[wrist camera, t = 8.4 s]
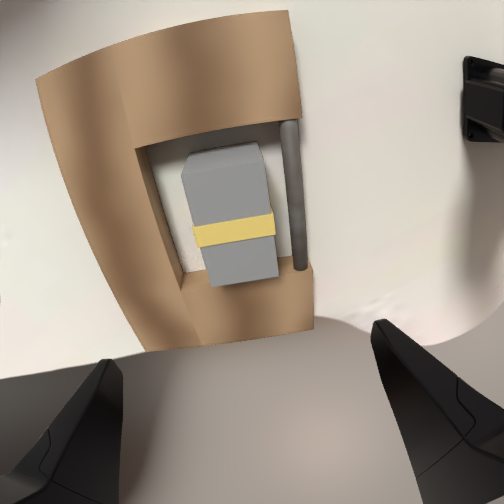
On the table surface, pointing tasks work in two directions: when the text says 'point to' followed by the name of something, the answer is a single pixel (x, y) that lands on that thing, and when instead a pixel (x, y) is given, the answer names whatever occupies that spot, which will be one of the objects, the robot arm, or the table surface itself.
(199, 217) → the grey banded block
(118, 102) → the brown wooden flat frame
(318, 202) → the table surface
